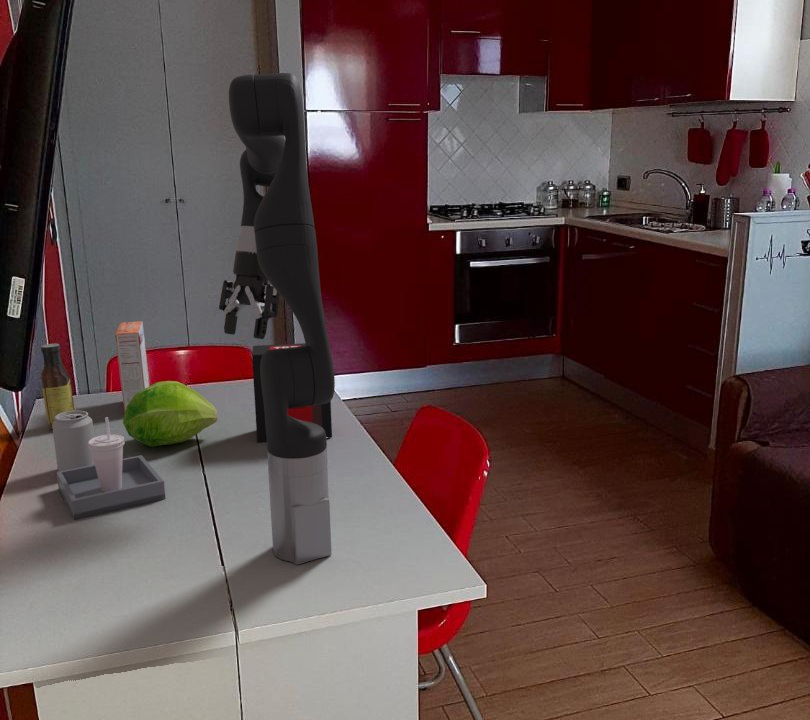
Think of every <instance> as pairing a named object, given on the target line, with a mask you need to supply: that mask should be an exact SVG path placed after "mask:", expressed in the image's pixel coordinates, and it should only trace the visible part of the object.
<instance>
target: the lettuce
mask: <svg viewBox="0 0 810 720" xmlns="http://www.w3.org/2000/svg"><path fill="white" fill-rule="evenodd" d="M218 418H219V417H218V410H217V408H216V407H215V406H214V405H213V404H212V403H210V401H208V400H207V399H206V398H205V397H203V395H201V394H200V393H199V392H197V391H196V390H194V389H193V388H191V387H190V386H188V385H185V384H184V383H181V382H179V381H176V380H175V381H174V380H166V381H157V382H155V383H153V384H151V385H150V386H149V387H147V388H145V389H143V390H141V391H139V392H137V393H136V394H135V396H134V397H133V398H132V400H131V401H130V403H129V404H128V405H127V407H126V411H125V413H124V417H123V420H122V424H123V426H124V428H125V430H126V432H127V435H128V436H129V437H131V438H133V439H135V441H138V442H140V443H142V444H144V445H146V446H148V447H152V448H153V447H159V446H167V445H174V444H180V443H183V442H186V441H188V440H191V439H192V438H193V437H195V436H196V435H198V434H199V433H201V432H202V431H203V430H205V429H206V428H208V427H210V426H212V425H213V424H215V423H217V422H218V420H219V419H218Z"/></svg>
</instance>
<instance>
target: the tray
mask: <svg viewBox="0 0 810 720" xmlns="http://www.w3.org/2000/svg"><path fill="white" fill-rule="evenodd" d="M56 479H57V487H58V490H59V493H60V494H61V497H62V498H63V500H64V502H65V505H66V506H67V509H68V510H69V512H70V514H71V516H72V518H73V519H74V520H79V519H83V518H87V517H92V516H96V515H100V514H105V513H108V512H115V511H118V509H119V510H122V508H123V509H127V508H131V506H132V507H135V505H136V506H140V504H141V505H144V504H149V503H153V501H154V502H157V500H158V501H162V500H166V491H165V490H166V489H165V488H166V487H165V481H164V480H163V478H162V477H161V476H160V475H159V474H158V472H157V471H156V470H155V469H154V468H153V467H152V465H151V464H150V463H149V462H148V461H147V460H146V458H145V457H144V456H143V455H142V454H141V455H135V456H130V457H126V458H123V461H122V488H121V489H118V490H113V491H108V492H103V491H101V487H100V483H99V480H98V476H97V472H96V468H95V464H94V465H89V466H84V467H79V468H74V469H69V470H64V471H56ZM126 507H127V508H126Z"/></svg>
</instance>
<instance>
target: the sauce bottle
mask: <svg viewBox="0 0 810 720" xmlns="http://www.w3.org/2000/svg"><path fill="white" fill-rule="evenodd" d="M40 351H41V354H42V358H43V369H42V371H41V373H40V380H41V388H42V390H41V391H42V396H43V402H44V408H45V414H46V415H45V417H46V421H47V424H48V425H47V426H48V428H49V429H50V430H52V424H53V423H54V421H55V420H56V419H55V416H56V415H58V414H60V413H63V412H68V411H76V409H75V404H74V403H75V402H74V397H73V389H72V383H71V378H70V377H71V376H70V375H69V373H68V371H67V369H66V367H65V366H64V363H63V361H62V357H61V345H60V344H59V343H48V344H47V343H46V344H44V345H40Z"/></svg>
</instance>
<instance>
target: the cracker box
mask: <svg viewBox="0 0 810 720" xmlns="http://www.w3.org/2000/svg"><path fill="white" fill-rule="evenodd" d="M116 330H117V331H116V333H115V335H114V337H115V344H116V351H117V352H116V353H117V354H116V355H117V361H118V368H119V378H120V387H121V395H122V403H123V410H124V411H123V412H124V413H123V414H125V411H126V407H127V405H128V404H129V403H130V401H131V400H132V398H133V397H134V396H135V394H136V393H137V392H139V391H141V390H143V389H145V388H147V387H149V386H151V385H150V378H149V369H148V368H149V367H148V358H147V350H146V340H145V331H144V322H143V321H140V320H139V321H126V322H125V321H123V322H121V323H119V326H118V327H117V329H116Z"/></svg>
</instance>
